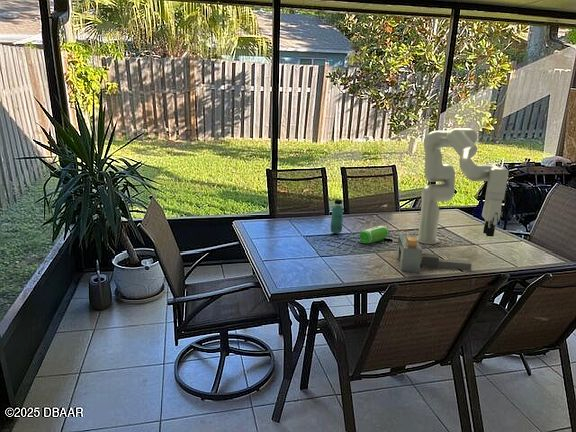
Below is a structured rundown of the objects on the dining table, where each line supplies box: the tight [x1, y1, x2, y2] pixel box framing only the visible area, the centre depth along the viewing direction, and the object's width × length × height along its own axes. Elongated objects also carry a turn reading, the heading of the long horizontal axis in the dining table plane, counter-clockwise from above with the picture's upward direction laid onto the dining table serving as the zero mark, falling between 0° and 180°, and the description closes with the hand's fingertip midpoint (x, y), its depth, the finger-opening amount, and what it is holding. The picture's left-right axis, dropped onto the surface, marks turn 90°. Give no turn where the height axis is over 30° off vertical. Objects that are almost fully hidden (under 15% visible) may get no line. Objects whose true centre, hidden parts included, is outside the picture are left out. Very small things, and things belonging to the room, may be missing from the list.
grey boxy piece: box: [396, 234, 423, 273], centre depth 199 cm, size 20×8×14 cm, turn 172°
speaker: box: [359, 225, 390, 244], centre depth 230 cm, size 18×7×8 cm, turn 130°
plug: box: [420, 252, 472, 271], centre depth 198 cm, size 5×24×5 cm, turn 82°
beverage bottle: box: [330, 198, 344, 234], centre depth 237 cm, size 6×7×20 cm
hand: (488, 234), depth 191 cm, fingers open, 3 cm apart
